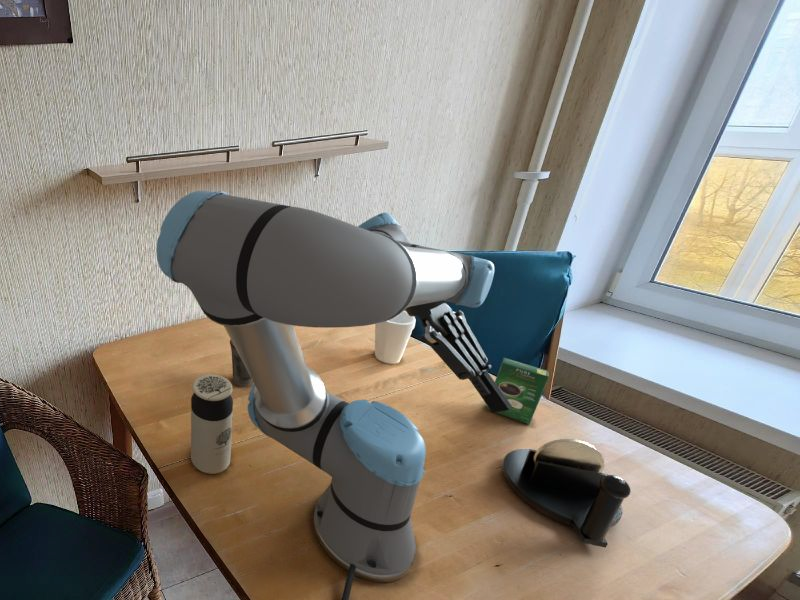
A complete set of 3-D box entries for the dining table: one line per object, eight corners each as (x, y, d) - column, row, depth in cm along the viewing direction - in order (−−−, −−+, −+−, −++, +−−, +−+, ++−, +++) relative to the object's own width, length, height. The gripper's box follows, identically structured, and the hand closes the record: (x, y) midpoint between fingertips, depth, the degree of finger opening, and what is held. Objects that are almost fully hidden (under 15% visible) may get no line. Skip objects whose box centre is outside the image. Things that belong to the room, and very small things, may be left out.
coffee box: (531, 419, 95) (549, 369, 90) (531, 426, 93) (549, 376, 88) (487, 403, 100) (502, 356, 95) (485, 410, 98) (501, 361, 93)
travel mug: (184, 451, 89) (184, 379, 82) (217, 439, 91) (219, 369, 85) (202, 480, 82) (203, 404, 75) (237, 466, 85) (242, 392, 78)
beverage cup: (256, 391, 106) (261, 321, 99) (227, 388, 107) (230, 318, 100) (256, 374, 112) (261, 306, 105) (228, 371, 114) (231, 304, 107)
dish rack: (661, 563, 64) (698, 501, 60) (533, 533, 69) (558, 474, 65) (587, 463, 82) (610, 409, 77) (488, 445, 87) (505, 393, 82)
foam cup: (408, 353, 119) (417, 312, 115) (405, 371, 112) (414, 328, 107) (371, 344, 124) (378, 304, 119) (366, 360, 117) (373, 318, 112)
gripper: (420, 290, 72) (513, 423, 66) (450, 271, 80) (537, 388, 73) (383, 307, 78) (466, 430, 72) (415, 288, 86) (492, 398, 79)
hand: (502, 409), depth 73 cm, fingers closed
